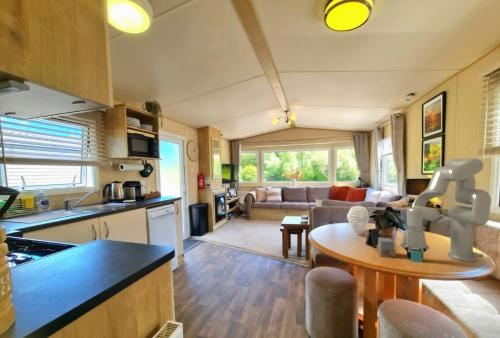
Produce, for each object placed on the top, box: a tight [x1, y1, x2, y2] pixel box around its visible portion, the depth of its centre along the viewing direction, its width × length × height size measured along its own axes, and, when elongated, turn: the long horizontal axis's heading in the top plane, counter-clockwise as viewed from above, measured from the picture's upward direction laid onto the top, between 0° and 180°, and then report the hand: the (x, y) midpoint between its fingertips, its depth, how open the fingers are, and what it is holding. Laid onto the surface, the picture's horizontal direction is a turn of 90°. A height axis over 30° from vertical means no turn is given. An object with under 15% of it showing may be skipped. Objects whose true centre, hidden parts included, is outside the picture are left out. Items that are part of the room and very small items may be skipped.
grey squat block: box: [378, 237, 395, 250], centre depth 134 cm, size 7×7×5 cm
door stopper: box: [365, 227, 381, 250], centre depth 149 cm, size 9×6×12 cm, turn 14°
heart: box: [346, 205, 370, 235], centre depth 174 cm, size 28×16×22 cm, turn 150°
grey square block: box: [376, 245, 397, 259], centre depth 134 cm, size 8×8×5 cm
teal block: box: [409, 248, 423, 263], centre depth 126 cm, size 5×5×6 cm
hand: (414, 258), depth 126 cm, fingers closed on teal block, 5 cm apart
